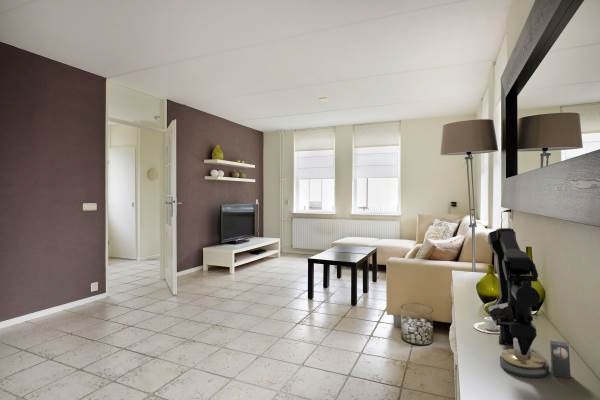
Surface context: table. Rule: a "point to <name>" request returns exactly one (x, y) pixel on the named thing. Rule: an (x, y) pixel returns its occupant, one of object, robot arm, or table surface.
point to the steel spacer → (518, 353)
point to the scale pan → (533, 363)
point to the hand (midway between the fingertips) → (522, 348)
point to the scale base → (558, 364)
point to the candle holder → (487, 325)
